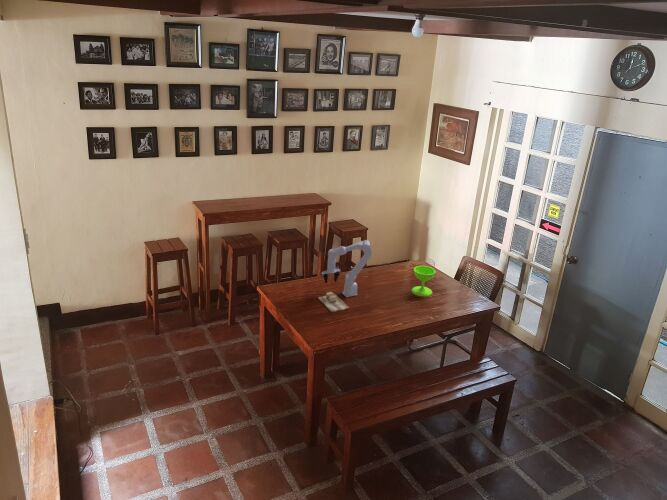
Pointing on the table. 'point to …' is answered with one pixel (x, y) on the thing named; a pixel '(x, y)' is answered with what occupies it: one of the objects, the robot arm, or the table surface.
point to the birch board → (333, 304)
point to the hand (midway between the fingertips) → (330, 282)
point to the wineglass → (423, 280)
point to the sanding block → (331, 297)
